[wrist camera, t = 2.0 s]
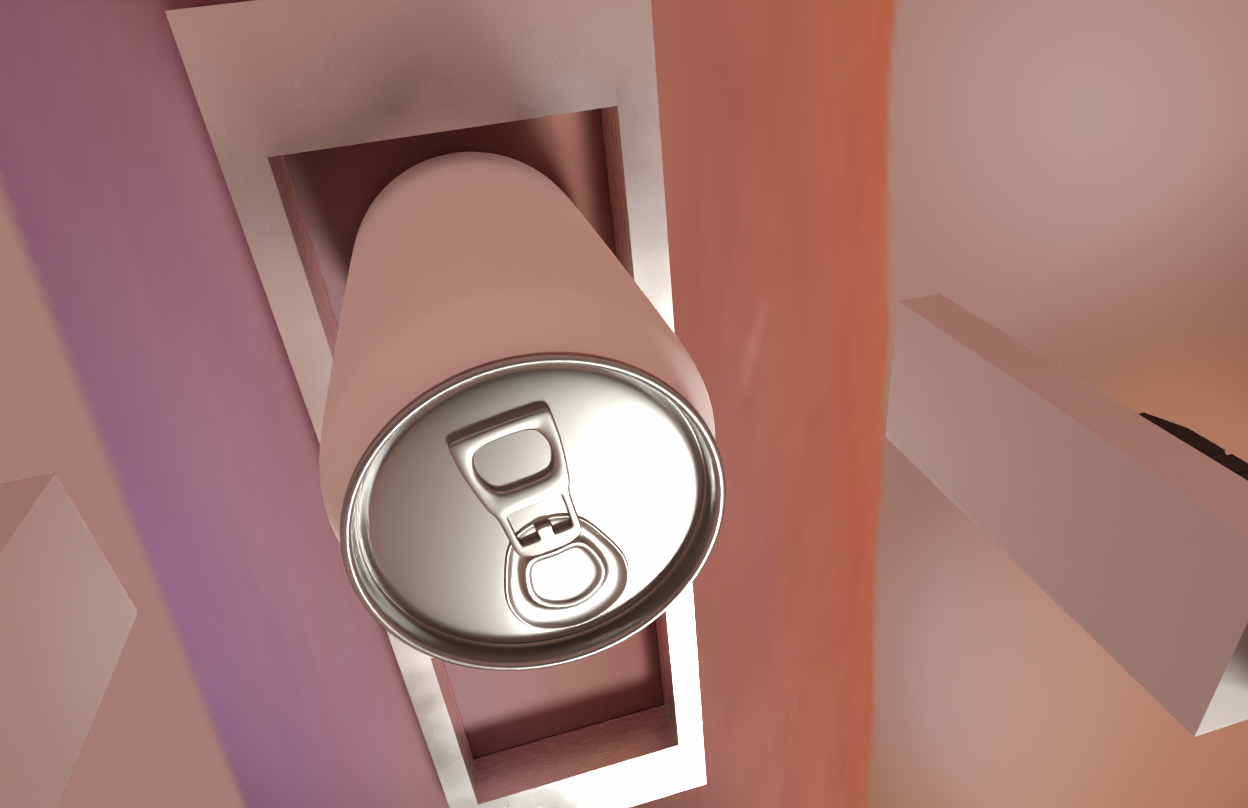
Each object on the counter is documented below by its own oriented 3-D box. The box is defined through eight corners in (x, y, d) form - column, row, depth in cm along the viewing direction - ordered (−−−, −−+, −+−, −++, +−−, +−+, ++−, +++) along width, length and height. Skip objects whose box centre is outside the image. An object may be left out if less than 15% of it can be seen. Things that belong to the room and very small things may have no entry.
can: (412, 403, 23) (422, 746, 13) (307, 196, 19) (204, 434, 9) (615, 327, 23) (784, 598, 13) (548, 112, 20) (704, 251, 10)
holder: (691, 743, 34) (706, 784, 32) (463, 810, 32) (467, 857, 30) (624, -43, 19) (647, -45, 17) (188, 7, 17) (165, 10, 15)
